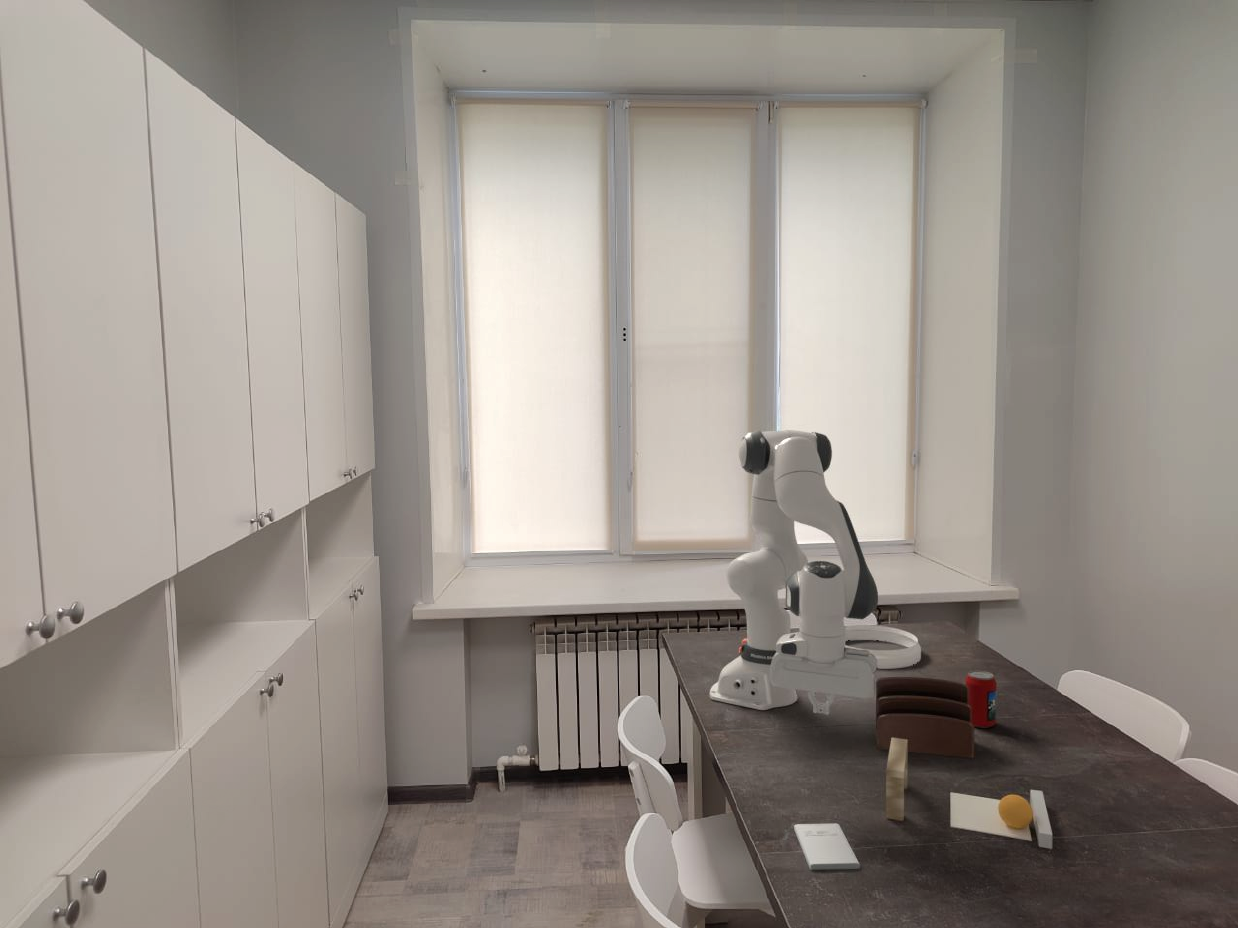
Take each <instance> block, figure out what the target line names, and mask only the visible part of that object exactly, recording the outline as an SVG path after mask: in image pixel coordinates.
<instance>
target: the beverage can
mask: <svg viewBox="0 0 1238 928" xmlns="http://www.w3.org/2000/svg"><path fill="white" fill-rule="evenodd" d="M964 680H965V682H964V684H965V685H967V687H968V689H969V705H970V706H971V723H972V724H973V726H974V728H975V727H976V728H979V727H980V728H979V729H987V728H988V727H989V728H991V727H993V726H995V725H996V723H997V696H998V695H997V688H998V687H997V685H998V684H997V683H998V682H997V680H996V679H995V676H994V674H993V673H991V672H990V671H989V672H988V671H985V670H979V669H978V670H977V669H976V670H971V671H969V672H968V674H967V675H966V677H965V679H964Z"/></svg>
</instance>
